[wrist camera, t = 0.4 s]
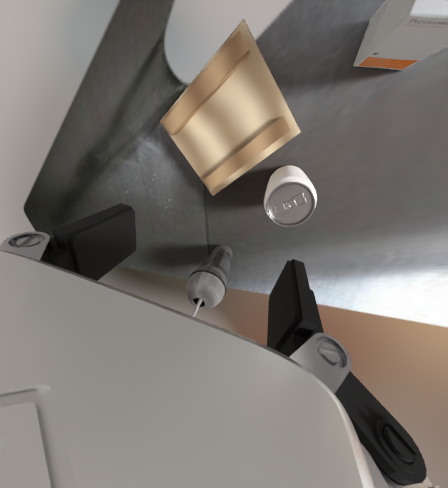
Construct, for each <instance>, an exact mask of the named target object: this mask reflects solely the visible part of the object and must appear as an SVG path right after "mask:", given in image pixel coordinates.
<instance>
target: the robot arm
mask: <svg viewBox="0 0 448 488" xmlns="http://www.w3.org/2000/svg"><path fill="white" fill-rule="evenodd" d="M52 232H53V235H54V238H52V239H50V237H49V235H48V234H46V233H42V232H25V233H19V234H16V235H13V236H11V237H9V238H7V239H6V240H4V241H3V243H2V244H1V245H0V488H440V487H439V486H433V485H432V484H431V482H430V481H429V479H428V478H427V477H426V467H425V463H424V459H423V457H422V455H421V453H420V451H419V448H418V447H417V445H416V444H415V443H414V441H413V439H412V438H411V437H410V435H409V434H408V433H407V431H406V430H405V429H404V428H403V427H402V426H401V425H400V424H399V423H398V422H397V420H396V419H395V418H394V417H393V416H392V415H391V414H390V413H389V412H388V411H387V410H386V409H385V408H384V407H383V406H382V405H381V404H380V402H379V401H378V400H377V399H376V398H375V397H374V396H373V395H372V394H371V393H370V392H369V391H368V390H367V389H366V388H365V386H364V385H363V384H362V383H360V381H359V380H358V379H357V378H356V377H355V376H354V375H353V374H352V373H351V372H350V370H351V367H352V361H351V358H350V356H349V353H348V352H347V350H346V349H345V348H344V346H343V345H342V344H341V343H340V342H339V341H338V340H336V339H335V338H334V337H332V336H330V335H328V334H325V333H324V332H323V328H322V324H321V320H320V316H319V312H318V308H317V304H316V300H315V296H314V293H313V291H312V290H310V287H309V283H308V279H307V274H306V270H305V266H304V263H303V262H300V261H297V260H294V259H293V260H291V261H287V263H286V265H285V267H284V269H283V271H282V273H281V275H280V276H279V278H278V280H277V282H276V284H275V286H274V288H273V290H272V292H271V294H270V297H269V312H268V337H267V346H265V345H263V344H261V343H259V342H256V341H254V340H251V339H249V338H246V337H244V336H241V335H239V334H236V333H234V332H231V331H229V330H226V329H224V328H221V327H218V326H216V325H213V324H210V323H208V322H205V321H203V320H200V319H197V318H195V317H192V316H190V315H187V314H184V313H182V312H179V311H176V310H174V309H171V308H169V307H166V306H163V305H160V304H158V303H155V302H152V301H150V300H147V299H144V298H142V297H139V296H136V295H134V294H131V293H128V292H126V291H123V290H120V289H118V288H115V287H112V286H110V285H107V284H104V283H101V282H99V281H97V280H99V279H100V278H101V277H102V276H104V275H105V274H106V273H108V272H109V271H110V270H112V269H113V268H114V267H115V266H117V265H118V264H119V263H121V262H122V261H123V260H124V259H126V258H127V257H128V256H130V255H131V254H132V253H133V252H134V251H135V250H136V230H135V211H134V210H133V208H132V207H131V206H128V205H125V204H118V205H116V206H113V207H111V208H108V209H106V210H103V211H101V212H98V213H96V214H93V215H91V216H88V217H86V218H83V219H81V220H78V221H76V222H73V223H70V224H68V225H65V226H63V227H60V228H58V229H55V230H53V231H52Z"/></svg>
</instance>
